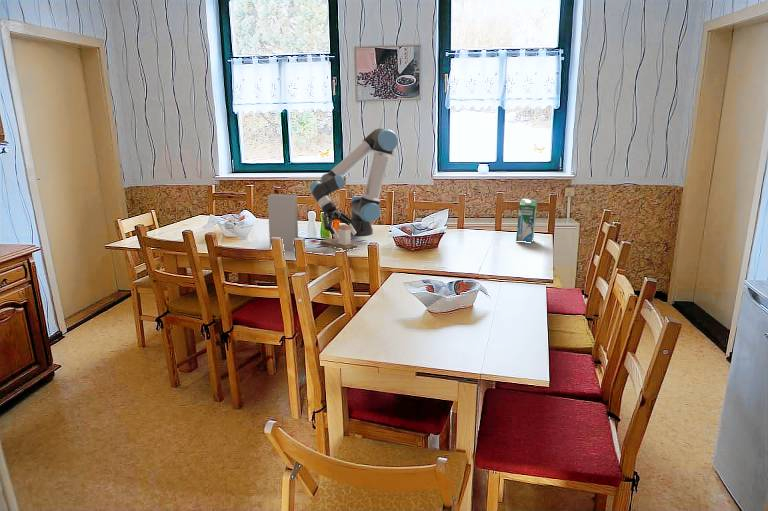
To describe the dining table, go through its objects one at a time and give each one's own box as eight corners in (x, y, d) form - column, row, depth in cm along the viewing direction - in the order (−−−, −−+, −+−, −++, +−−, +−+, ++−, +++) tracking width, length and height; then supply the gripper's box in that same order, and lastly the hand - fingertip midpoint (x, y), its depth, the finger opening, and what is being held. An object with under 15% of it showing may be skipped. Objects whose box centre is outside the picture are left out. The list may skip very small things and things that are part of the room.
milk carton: (515, 242, 302) (519, 200, 295) (518, 238, 310) (521, 198, 303) (531, 244, 299) (535, 201, 292) (533, 240, 307) (537, 199, 300)
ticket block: (330, 241, 296) (330, 238, 295) (357, 248, 282) (357, 244, 281) (320, 244, 290) (320, 240, 289) (347, 251, 276) (347, 247, 276)
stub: (343, 242, 286) (342, 224, 283) (350, 244, 282) (350, 226, 279) (337, 243, 283) (337, 225, 280) (345, 245, 279) (345, 227, 276)
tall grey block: (298, 249, 279) (296, 194, 270) (295, 251, 273) (294, 196, 265) (273, 248, 280) (270, 193, 272) (270, 250, 275) (267, 195, 266)
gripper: (339, 206, 297) (358, 236, 292) (307, 212, 279) (326, 244, 273) (346, 198, 292) (365, 228, 287) (313, 204, 274) (333, 236, 269)
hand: (346, 236), depth 280 cm, fingers open, 13 cm apart
